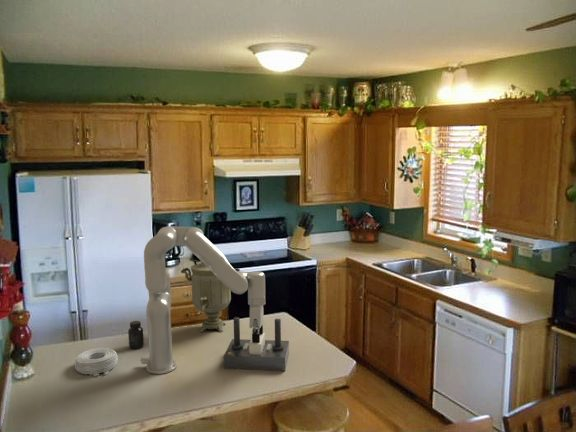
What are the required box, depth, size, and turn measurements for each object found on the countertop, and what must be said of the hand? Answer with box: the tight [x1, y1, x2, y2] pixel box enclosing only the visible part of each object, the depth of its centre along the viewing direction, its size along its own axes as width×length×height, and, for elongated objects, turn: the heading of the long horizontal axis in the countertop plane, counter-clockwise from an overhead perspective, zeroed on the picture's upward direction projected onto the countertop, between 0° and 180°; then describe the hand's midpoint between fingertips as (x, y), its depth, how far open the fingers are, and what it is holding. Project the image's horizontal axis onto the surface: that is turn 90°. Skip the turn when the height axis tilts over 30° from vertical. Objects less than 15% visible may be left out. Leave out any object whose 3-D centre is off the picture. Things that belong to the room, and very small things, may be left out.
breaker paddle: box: [249, 332, 266, 355], centre depth 232 cm, size 5×13×7 cm, turn 175°
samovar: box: [180, 259, 241, 333], centre depth 268 cm, size 30×26×40 cm
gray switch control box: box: [223, 338, 290, 372], centre depth 233 cm, size 26×18×7 cm
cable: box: [74, 347, 119, 377], centre depth 228 cm, size 18×18×6 cm
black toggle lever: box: [272, 318, 283, 351], centre depth 231 cm, size 5×5×13 cm
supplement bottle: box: [127, 320, 145, 350], centre depth 249 cm, size 7×7×12 cm
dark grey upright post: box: [232, 317, 243, 350], centre depth 232 cm, size 5×5×13 cm
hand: (257, 338), depth 232 cm, fingers open, 9 cm apart
